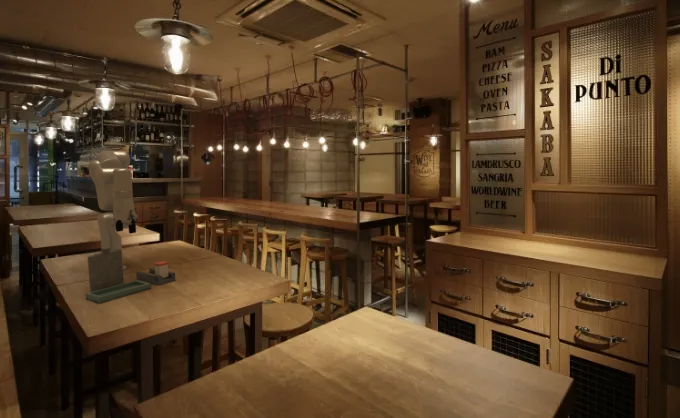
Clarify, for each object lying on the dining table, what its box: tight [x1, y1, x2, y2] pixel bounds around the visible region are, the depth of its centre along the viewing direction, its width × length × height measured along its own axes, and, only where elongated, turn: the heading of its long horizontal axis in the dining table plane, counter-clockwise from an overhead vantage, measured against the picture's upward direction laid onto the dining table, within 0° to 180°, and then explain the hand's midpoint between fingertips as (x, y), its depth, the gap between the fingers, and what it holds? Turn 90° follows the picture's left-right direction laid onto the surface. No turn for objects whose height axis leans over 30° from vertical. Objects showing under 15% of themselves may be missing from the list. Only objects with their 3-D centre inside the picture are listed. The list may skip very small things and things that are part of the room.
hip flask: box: [87, 247, 125, 292], centre depth 182 cm, size 16×4×20 cm, turn 158°
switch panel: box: [135, 267, 176, 286], centre depth 199 cm, size 18×9×4 cm, turn 58°
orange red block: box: [153, 260, 169, 278], centre depth 196 cm, size 4×5×7 cm
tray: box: [84, 279, 152, 304], centre depth 178 cm, size 11×23×2 cm, turn 148°
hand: (126, 232), depth 187 cm, fingers open, 9 cm apart
